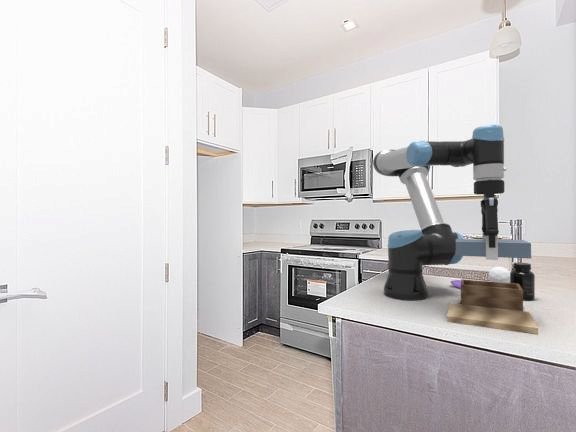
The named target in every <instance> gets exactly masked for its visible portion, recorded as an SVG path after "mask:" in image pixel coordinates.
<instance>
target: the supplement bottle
mask: <svg viewBox="0 0 576 432" xmlns="http://www.w3.org/2000/svg"><path fill="white" fill-rule="evenodd" d="M512 268H513V270H511V271H509V272H510V283H515V284H519V285H520V286H521V288H522V289H523V302H524V301H525V302H526V301H528V302H530V301H534V300H535V297H536V296H535V295H536V293H535V291H536V289H535V287H536V286H535V285H536V284H535V280H536V279H535V278H536V276H535V273H534V272H532V271H531V270H532V264H531V263H528V262H520V261H519V262H513V266H512Z"/></svg>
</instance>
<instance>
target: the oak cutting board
mask: <svg viewBox="0 0 576 432" xmlns="http://www.w3.org/2000/svg"><path fill="white" fill-rule="evenodd" d="M446 318H447V322H449V323H455V324H462V325H469V326H476V327H483V328H489V329H499V330H503V331H504V330H505V331H512V332H518V333H527V334H535V335H539V327H538V326H537V324H536V322H535V320H534V319H533V317H532V315H531V313H530V312H529V311H524V310H523V311H516V310H508V309H499V308H490V307H481V306H472V305H464V304H461V303H454V302H449V306H448V312H447V317H446Z"/></svg>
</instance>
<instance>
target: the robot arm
mask: <svg viewBox="0 0 576 432" xmlns="http://www.w3.org/2000/svg"><path fill="white" fill-rule="evenodd" d="M471 137H472V138H470V139H467V140H464V141H462V140H461V141H460V140H459V141H458V140H457V141H455V140H454V141H453V140H451V141H450V140H449V141H447V140H446V141H445V140H444V141H443V140H442V141H432V140H431V141H428V140H427V141H426V140H418V141H411V143H409V145H408V146H405V147H402V148H398V149H385V150H382V151H379V152H377V153H376V155H375V156H374V157H373V160H372V167H373V168H374V170H375V171H376V172H377V173H378V174H379V175H381V176H385V177H398V178H399V181H400V183H401V184H403V185H405V186H406V190H407V193H408V195H409V199H410V201H411V204H412V208H413V210H414V213H415V216H416V218H417V219H416V220H417V222H418V225H419V227H420V229H409V230H400V231H395V232H392V233H390V234H389V235H388V240H387V254H388V255H387V256H388V257H387V258H388V274H387V277H386V280H385V283H384V286H383V294H384V296H386V297H389V298H393V299H397V300H406V301H407V300H408V301H417V300H424V299H426V298H428V297H429V289H428V287H427V284H426V282H425V278H424V275H423V266H441V265H442V266H448V265H456V264H458V263H459V262H460V261H461V260H462V259H463V258H464V256H456V239H464V236H463V235H461V233H459V232H457V231H453V229H452V226H451V225H450V224H449V223H446V222H445V221H444V218H443V216H442V214H441V211H440V209H439V206H438V203H437V201H436V199H435V196H434V194H433V191H432V189H431V186H430V183H429V181H428V179H427V177H428V175H429V172H430V170H431V167H432V166H451V167H454V168H460V167H462V168H463V167H466V166H470V165H472V166H473V167H472V173H473V174H472V176H473V177H472V179H473V180H474V183H473V194H474V195H479V196H481V195H483V199H481V200H480V208H481V209H480V211H481V215H482V217H481V231H482V239H486V257H485V260H490V261H491V260H492V261H494V260H495V261H499V257H498V240H499V239H498V235H499V231H500V230H499V222H498V221H499V220H498V204H499V201H498V199H497V197H495V196H496V195H499V194H504V193H505V180H503V178H505V172H506V171H508V170H507V169H508V168H507V167H504V165H505V138H504V128H503V126H501V125H499V124H487V125H486V124H485V125H481V126H478V127H475V128H473V131H472V136H471Z"/></svg>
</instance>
